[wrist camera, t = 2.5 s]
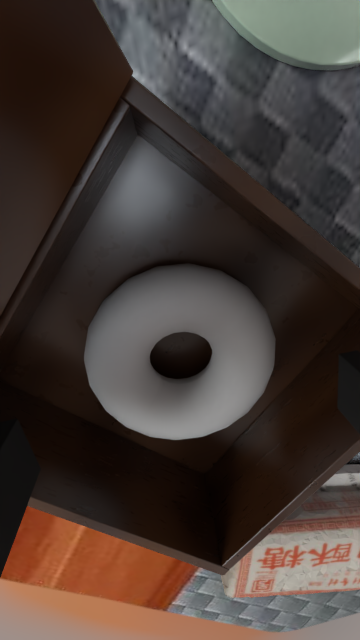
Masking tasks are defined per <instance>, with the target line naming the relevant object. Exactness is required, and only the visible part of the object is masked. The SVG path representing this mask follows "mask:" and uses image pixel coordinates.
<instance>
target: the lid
mask: <svg viewBox="0 0 360 640" xmlns="http://www.w3.org/2000/svg"><path fill="white" fill-rule="evenodd" d="M132 74H133V70H132V68H131V66H130V65H129V63H128V61H127V59H126V57H125V55H124V53H123V52H122V50H121V48H120V46H119V44H118V42H117V41H116V39H115V37H114V35H113V33H112V31H111V30H110V28H109V26H108V24H107V22H106V20H105V19H104V17H103V15H102V13H101V11H100V9H99V8H98V6H97V4H96V2H95V0H0V316H1V314H2V312H3V310H4V308H5V306H6V305H7V303H8V301H9V299H10V297H11V295H12V294H13V292H14V290H15V288H16V286H17V284H18V283H19V281H20V279H21V277H22V275H23V273H24V272H25V270H26V268H27V266H28V264H29V262H30V261H31V259H32V257H33V255H34V253H35V251H36V250H37V248H38V246H39V244H40V242H41V240H42V239H43V237H44V235H45V233H46V231H47V229H48V228H49V226H50V224H51V222H52V220H53V219H54V217H55V215H56V213H57V211H58V209H59V208H60V206H61V204H62V202H63V200H64V198H65V197H66V195H67V193H68V191H69V189H70V187H71V186H72V184H73V182H74V180H75V178H76V176H77V175H78V173H79V171H80V169H81V167H82V165H83V164H84V162H85V160H86V158H87V156H88V154H89V153H90V151H91V149H92V147H93V145H94V143H95V142H96V140H97V138H98V136H99V134H100V132H101V131H102V129H103V127H104V125H105V123H106V121H107V120H108V118H109V116H110V114H111V112H112V110H113V109H114V107H115V105H116V103H117V101H118V99H119V98H120V96H121V94H122V92H123V90H124V88H125V87H126V85H127V83H128V81H129V79H130V77H131V76H132Z"/></svg>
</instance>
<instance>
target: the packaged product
mask: <svg viewBox="0 0 360 640" xmlns="http://www.w3.org/2000/svg"><path fill="white" fill-rule="evenodd" d="M221 579H222V582H223V585H224V592H225V594H226V596H228V597H230V598H234V597H251V598H253V597H263V596H271V595H273V596H274V595H293V594H312V593H320V592H337V591H350V590H359V589H360V464H345V465H344V466H343V467H342V468H341V469H340V470H339V471H338V472H337V473H336V474H334V475H333V476H332V477H331V478H330V479H329V480H328V481H327V482H326V483H325V484H323V485H322V486H321V487H320V488H319V489H318V490H317V491H316V492H315V493H314V494H312V495H311V496H310V497H309V498H308V499H307V500H306V501H305V502H304V503H303V504H301V505H300V506H299V507H298V508H297V509H296V510H295V511H294V512H293V513H292V514H290V515H289V516H288V517H287V518H286V519H285V520H284V521H283V522H282V523H281V524H279V525H278V526H277V527H276V528H275V529H274V530H273V531H272V532H271V533H270V534H268V535H267V536H266V537H265V538H264V539H263V540H262V541H261V542H260V543H258V544H257V545H256V546H255V547H254V548H253V549H252V550H251V551H250V552H249V553H247V554H246V555H245V556H244V557H243V558H242V559H241V560H240V561H239V562H238V563H236V564H235V565H234V566H233V567H232V568H231V569H230V570H229V571H228V572H227V573H226V574H225V575H221Z"/></svg>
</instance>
